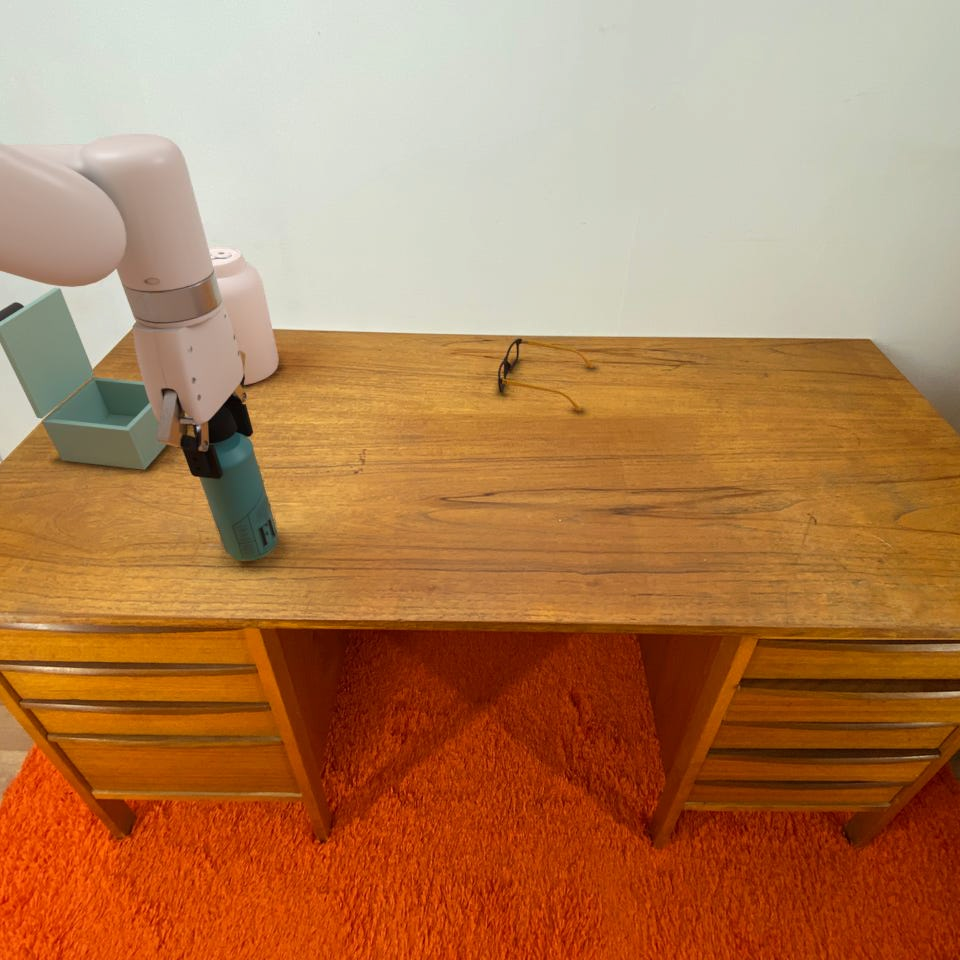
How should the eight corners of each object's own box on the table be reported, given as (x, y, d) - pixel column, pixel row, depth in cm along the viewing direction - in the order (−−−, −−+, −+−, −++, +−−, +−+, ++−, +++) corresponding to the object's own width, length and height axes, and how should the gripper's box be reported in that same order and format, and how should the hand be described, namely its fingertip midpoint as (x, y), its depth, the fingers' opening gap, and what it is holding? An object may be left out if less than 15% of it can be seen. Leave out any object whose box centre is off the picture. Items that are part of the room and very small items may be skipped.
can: (264, 344, 117) (239, 233, 104) (291, 373, 109) (268, 258, 96) (194, 363, 111) (159, 249, 98) (218, 396, 103) (183, 276, 90)
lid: (60, 288, 86) (20, 283, 86) (-2, 327, 77) (-47, 322, 77) (94, 374, 94) (58, 369, 95) (42, 418, 86) (2, 413, 86)
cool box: (186, 422, 98) (173, 384, 93) (144, 470, 89) (128, 430, 84) (110, 414, 99) (93, 376, 95) (61, 460, 90) (41, 421, 86)
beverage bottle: (274, 572, 75) (234, 434, 62) (218, 570, 75) (166, 432, 62) (288, 532, 80) (253, 397, 67) (235, 531, 80) (190, 396, 67)
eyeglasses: (512, 356, 115) (513, 336, 112) (592, 368, 112) (595, 347, 109) (492, 398, 104) (493, 376, 102) (580, 412, 101) (583, 390, 99)
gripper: (183, 255, 63) (227, 406, 75) (73, 336, 50) (147, 504, 62) (255, 260, 62) (288, 412, 74) (162, 345, 49) (220, 513, 61)
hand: (223, 453), depth 68 cm, fingers closed on beverage bottle, 6 cm apart
